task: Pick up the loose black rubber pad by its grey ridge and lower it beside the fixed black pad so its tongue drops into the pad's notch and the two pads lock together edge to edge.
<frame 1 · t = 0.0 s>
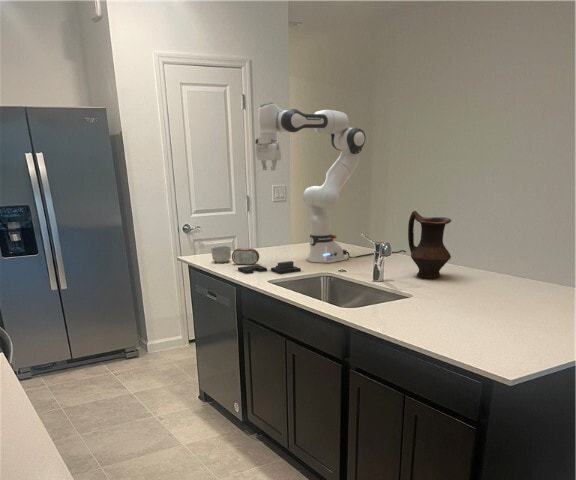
hand: (269, 170, 273), 48 cm above the countertop, tool pointing down, fingers open, 8 cm apart
teacup: (220, 261, 308), on the countertop
base pad: (252, 270, 283), on the countertop
loose pad: (285, 271, 281), on the countertop
jug: (426, 276, 264), on the countertop
tin: (245, 264, 299), on the countertop
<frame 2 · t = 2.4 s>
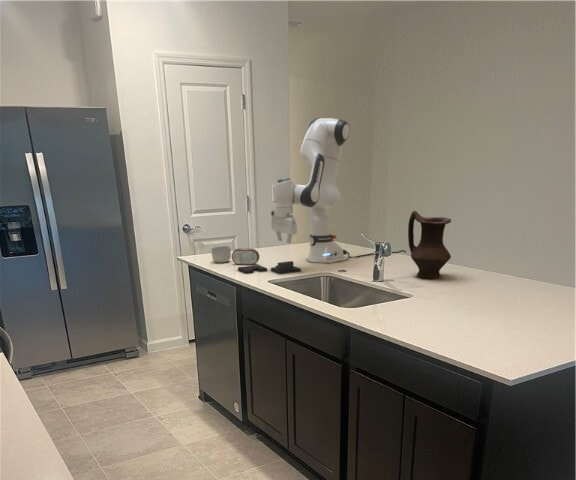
hand: (284, 241, 275), 15 cm above the countertop, tool pointing down, fingers open, 8 cm apart
nothing on the countertop moved.
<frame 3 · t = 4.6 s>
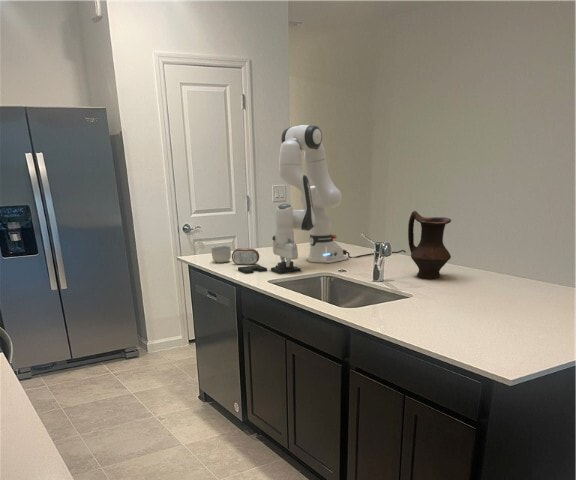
hand: (285, 265, 280), 3 cm above the countertop, tool pointing down, fingers closed on loose pad, 2 cm apart
loose pad: (285, 271, 281), on the countertop, touching gripper
everything else where it was.
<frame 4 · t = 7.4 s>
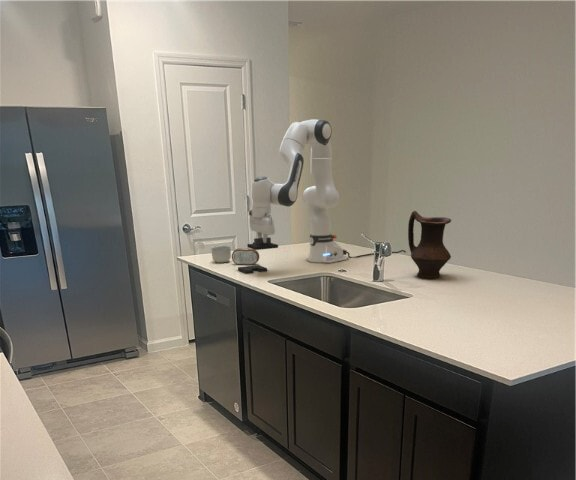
hand: (262, 242, 269), 16 cm above the countertop, tool pointing down, fingers closed on loose pad, 2 cm apart
loose pad: (262, 247, 270), point 13 cm above the countertop, touching gripper
everything else where it was.
when the fingers open (2 cm above the countertop, at t = 10.7 s): loose pad stays where it is, on the countertop.
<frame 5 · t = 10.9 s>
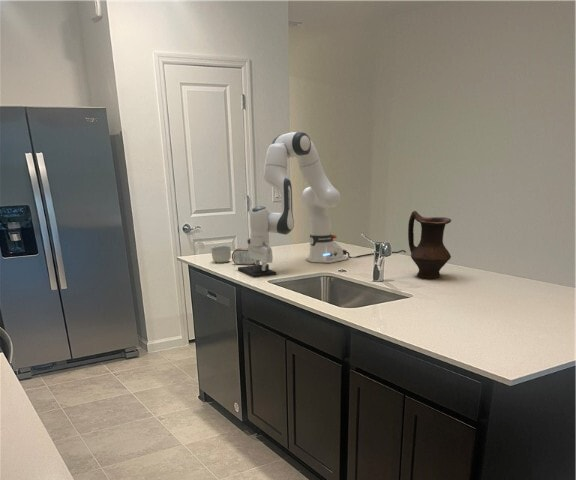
hand: (261, 269, 274), 2 cm above the countertop, tool pointing down, fingers open, 4 cm apart
loose pad: (260, 274, 275), on the countertop
everything else where it was.
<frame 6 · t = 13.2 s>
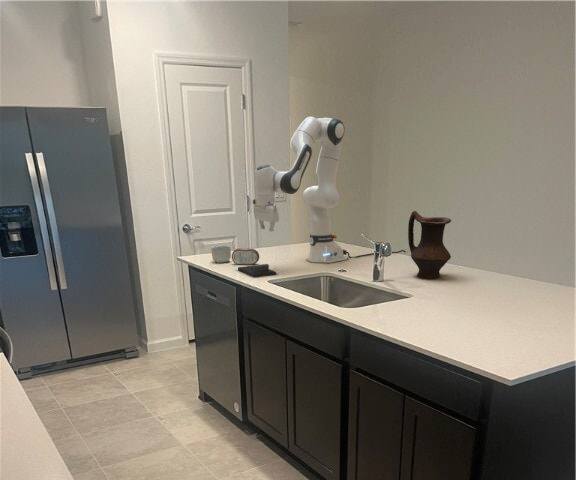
hand: (267, 230, 272), 21 cm above the countertop, tool pointing down, fingers open, 8 cm apart
nothing on the countertop moved.
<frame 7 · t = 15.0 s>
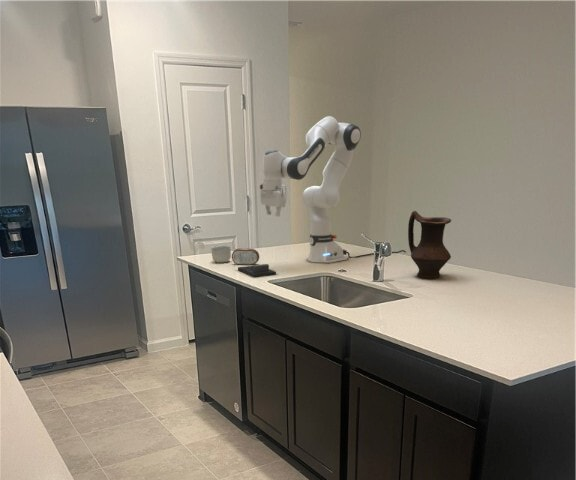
hand: (273, 215, 274), 27 cm above the countertop, tool pointing down, fingers open, 8 cm apart
nothing on the countertop moved.
at the end: loose pad 0.2 cm from the target spot on the countertop beside the base pad, on the countertop; loose pad tilted 0°; the gripper is holding nothing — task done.
